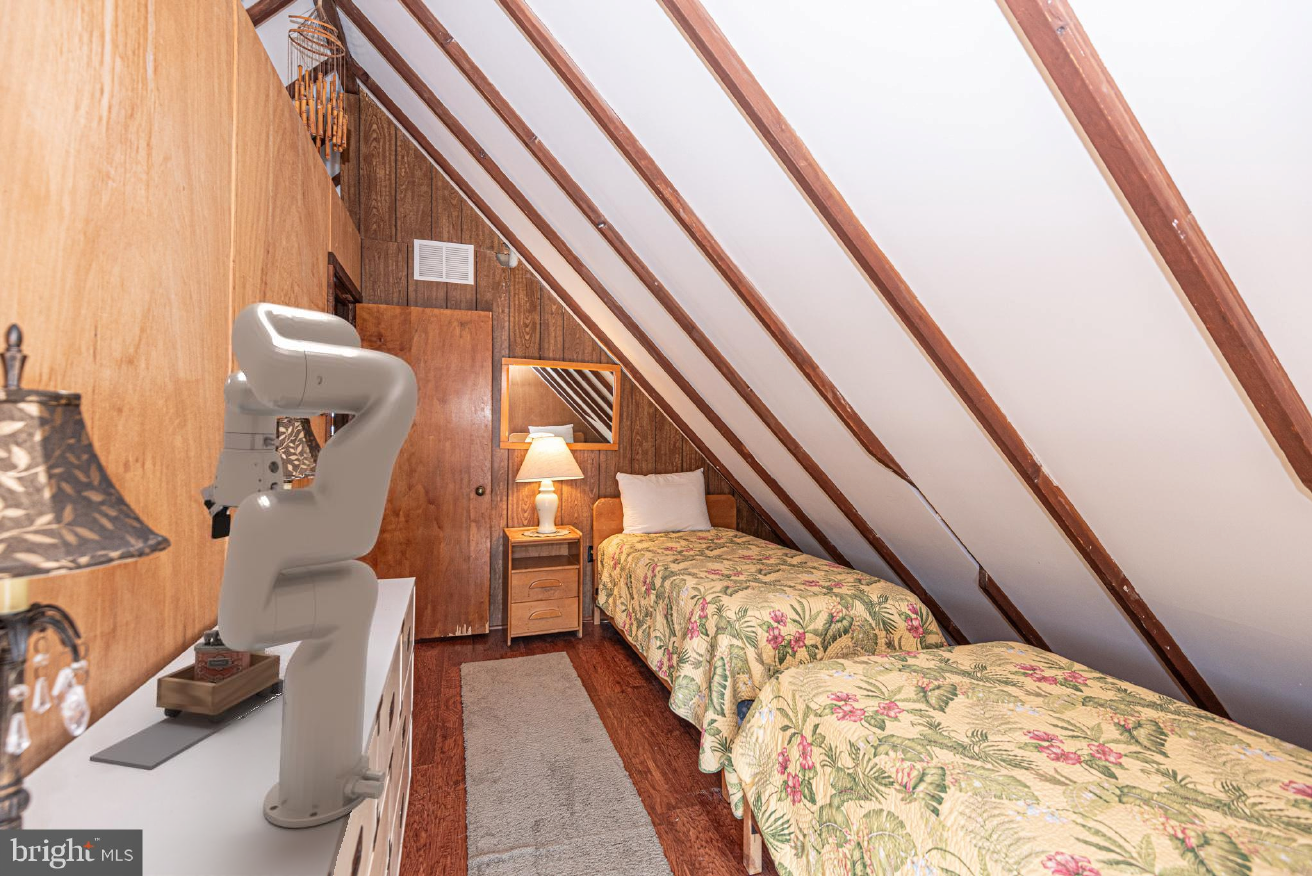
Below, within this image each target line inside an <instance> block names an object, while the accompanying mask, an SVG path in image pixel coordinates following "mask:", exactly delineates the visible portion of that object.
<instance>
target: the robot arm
mask: <svg viewBox="0 0 1312 876" xmlns="http://www.w3.org/2000/svg"><path fill="white" fill-rule="evenodd" d="M230 338H231V341H230V342H231V348H232V352H233V355H234V359H235V360H236V363H237V364H238V366H239V368H240V370H239V369H238V370H235V371H234V372H232V373H229V375H228V376H227V377H226V380H225V382H224V387H223V400H224V402H225V403H224V404H225V405H224V422H223V423H224V424H223V445H222V449H221V450H220V452H219V456H218V459H217V464H216V468H215V475H214V483H212V484H209V485H208V486H206V487H204V488H202V489H201V490H200V491H199V492H200V495H201V497H202V500H203V505H204V506H205V508H206V509H207V510H208V515H209V516H210V517H211V536H210V537H211V539H212V540H218V539H223V538H227V537H228V542H227V546H226V547H227V548H226V554H225V562H224V567H223V573H222V574H223V575H222V580H221V581H222V582H221V588H220V594H219V599H218V607H217V630H218V631H219V635H220V638H221V640H222V642H223V643H224V644H225V645H226V646H227V647H228V648H230V649H232V650H234V651H240V652H246V651H254V650H260V649H265V650H266V649H270V648H274V647H278V646H283V645H287V644H292V643H296V642H300V643H299V644H298V646H297V647H296V649H295V650H294V652H293V653H292V655H291V657H290V659H289V661H288V663H287V665H286V668H285V670H284V671H285V672H284V676H283V694H282V710H281V711H282V714H281V732H280V733H281V736H280V750H279V751H280V756H279V775H278V781H277V782H276V783H275V784H274V785H273V786H272V787H271V788H270V789H269V790H268V791H267V792H266V795H265V797H264V800H263V815H264V817H265V818H266V820H267V821H268V822H270V823H271V824H274V825H275V826H281V827H284V828H291V829H292V828H295V829H296V828H308V827H313V826H314V827H315V826H318V825H323V824H326V823H329V822H331V821H334V820H337V819H339V818H341V817H343V816H345V815H347V814H349V813H351V812H352V811H353V810H355V809H356V808H357V807H359V806H361V804H363V803H364V801H365V800H366V799H373V800H379V798H381V796H382V795H383V792H384V788H385V783H384V781H385V779H386V777H387V774H386V773H387V772H385V771H380V770H375V771H374V770H371V768H370V755H365V754H363V742H364V741H363V740H364V724H365V723H364V721H365V702H366V699H365V698H366V682H367V680H366V679H367V666H368V664H367V663H368V652H369V651H368V649H369V641H370V635H371V628H372V624H373V619H374V615H375V611H376V609H377V603H378V598H379V581H378V577H377V574H376V573H375V571H374V569H373V568H372V567H371V566H370V565H368V564H367V563H365V562H363V561H360V560H357V559H358V558H361V557H364V556H366V555H367V554H368V553H370V552H371V551H372V550H373V548H374V546H375V545H376V543H377V540H378V536H379V534H380V530H381V525H382V521H383V517H384V514H385V509H386V508H385V507H386V505H387V504H386V503H387V499H388V495H389V489H390V484H391V479H392V475H393V470H394V467H395V462H396V461H397V458H398V457H399V454H400V451H401V450H402V447H403V446H404V443H405V441H406V440H407V437H408V435H409V432H410V431H411V429H412V426H413V423H414V420H415V417H416V413H417V407H418V400H419V392H418V391H419V390H418V382H417V378H416V375H415V372H414V370H413V369H412V366H410V365H409V363H407V362H406V361H405V360H403V359H402V358H400V357H397V356H395V355H393V354H390V353H387V352H382V351H379V350H375V349H374V350H373V349H368V348H363V347H362V341H361V337H360V334H359V333H358V331H357V329H356V328H355V327H354V326H353V325H352V324H351V323H349V322H348V321H347V320H345V319H344V318H342V317H339V316H338V315H334V314H331V313H329V312H327V313H326V312H324V311H323V312H321V311H318V310H312V309H306V308H301V307H300V308H299V307H296V306H295V307H294V306H288V305H283V304H277V303H272V302H271V303H269V302H255V303H251V304H250V305H248V306H246V307H244V308H243V309H242V310H240V312H239V314H238V315H237V317H236V318H235V321H234V322H233V325H232V329H231V337H230ZM325 413H326V414H349V415H354V418H352V420H350V421H349V422H348V423H346V424H345V425H343V426H342V427H341V428H339V429H338V430H337V431H336V432H335V433H333V435H332V436H331V437H330V438H329V439H328V440H327V441H326V442H325V444H324V445H323V446H322V447H321V449H320V450H319V453H318V455H317V461H316V465H315V471H314V472H315V473H314V477H313V480H312V483H311V484H310V485H308V486H306V487H302V488H285V487H284V470H283V469H284V468H283V463H282V462H283V461H282V459H281V458H282V457H281V453H280V452H279V451H276V447H279V445H281V440H280V439H279V438H277V419H278V417H282V418H286V417H287V418H300V419H301V418H302V419H303V418H304V419H306V418H307V419H308V418H314V417H317V416H320V415H321V414H325ZM232 508H236V510H235V512H234V515H233V518H232V515H231V513H229V511H230V510H231V509H232Z"/></svg>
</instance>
